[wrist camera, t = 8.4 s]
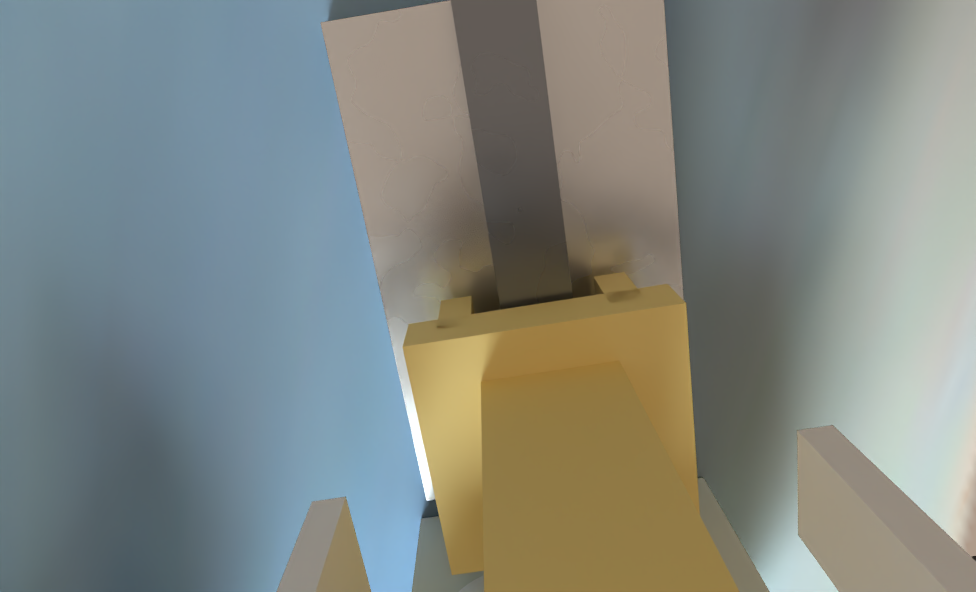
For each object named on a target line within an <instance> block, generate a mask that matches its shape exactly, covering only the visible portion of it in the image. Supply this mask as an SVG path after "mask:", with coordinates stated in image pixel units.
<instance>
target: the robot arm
mask: <svg viewBox="0 0 976 592" xmlns="http://www.w3.org/2000/svg"><path fill="white" fill-rule="evenodd" d="M797 459H798V535H799V537H800V538H801V539H802V541H803V542H804V544H805V545H806V546H807V548H808V549H809V551H810V552H811V553H812V555H813V556H814V557H815V559H816V560H817V562H818V563H819V564H820V566H821V567H822V569H823V570H824V571H825V573H826V574H827V576H828V577H829V578H830V580H831V581H832V583H833V584H834V585H835V587H836V588H837V590H838V591H839V592H976V556H973V557H971V556H970V555H969V554H968V553H967V552H966V551H965V550H964V549H962V548H961V547H960V546H959V545H958V544H957V543H956V542H955V541H954V540H953V539H952V538H951V537H950V536H949V535H948V534H947V533H946V532H945V531H944V530H943V529H941V528H940V527H939V526H938V525H937V524H936V523H935V522H934V521H933V520H932V519H931V518H930V517H929V516H928V515H927V514H926V513H925V512H924V511H923V510H921V509H920V508H919V507H918V506H917V505H916V504H915V503H914V502H913V501H912V500H911V499H910V498H909V497H908V496H907V495H906V494H905V493H904V492H903V491H902V490H900V489H899V488H898V487H897V486H896V485H895V484H894V483H893V482H892V481H891V480H890V479H889V478H888V477H887V476H886V475H885V474H884V473H883V472H882V471H880V470H879V469H878V468H877V467H876V466H875V465H874V464H873V463H872V462H871V461H870V460H869V459H868V458H867V457H866V456H865V455H864V454H863V453H862V452H861V451H859V450H858V449H857V448H856V447H855V446H854V445H853V444H852V443H851V442H850V441H849V440H848V439H847V438H846V437H845V436H844V435H843V434H842V433H841V432H839V431H838V430H837V429H836V428H835V427H834V426H833V425H830V426H823V427H816V428H809V429H803V430H797ZM277 592H371V589H370V585H369V582H368V578H367V574H366V570H365V567H364V563H363V559H362V556H361V552H360V548H359V544H358V541H357V537H356V533H355V529H354V526H353V522H352V518H351V515H350V511H349V507H348V503H347V500H346V497H340V498H334V499H327V500H320V501H313V502H312V503H311V505H310V508H309V511H308V513H307V516H306V518H305V521H304V523H303V526H302V528H301V531H300V533H299V536H298V538H297V541H296V544H295V546H294V549H293V551H292V554H291V556H290V559H289V561H288V564H287V566H286V569H285V571H284V574H283V576H282V579H281V582H280V584H279V587H278V589H277Z"/></svg>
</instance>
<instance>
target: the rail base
mask: <svg viewBox="0 0 976 592" xmlns="http://www.w3.org/2000/svg"><path fill="white" fill-rule="evenodd" d="M321 27H322V31H323V36H324V40H325V45H326V49H327V54H328V58H329V63H330V67H331V72H332V76H333V81H334V85H335V90H336V94H337V99H338V103H339V108H340V112H341V117H342V121H343V126H344V130H345V135H346V139H347V144H348V148H349V153H350V157H351V162H352V166H353V171H354V175H355V180H356V184H357V189H358V193H359V198H360V202H361V207H362V211H363V216H364V220H365V225H366V229H367V234H368V239H369V243H370V248H371V252H372V257H373V261H374V266H375V270H376V275H377V279H378V284H379V288H380V293H381V297H382V302H383V306H384V311H385V315H386V320H387V324H388V329H389V333H390V338H391V342H392V347H393V351H394V356H395V360H396V365H397V369H398V374H399V378H400V383H401V387H402V392H403V396H404V401H405V405H406V410H407V414H408V419H409V423H410V428H411V432H412V437H413V441H414V446H415V450H416V455H417V459H418V464H419V468H420V473H421V477H422V482H423V486H424V491H425V495H426V500H427V501H429V500H435V495H434V490H433V486H432V481H431V477H430V472H429V467H428V463H427V458H426V454H425V449H424V444H423V440H422V435H421V430H420V426H419V421H418V417H417V412H416V407H415V403H414V398H413V394H412V389H411V384H410V380H409V375H408V371H407V366H406V361H405V357H404V352H403V347H402V346H403V343H404V339H405V336H406V332H407V329H408V325H409V324H412V323H418V322H424V321H431V320H437V319H438V317H439V310H440V304H441V300H447V299H454V298H460V297H467V296H472V302H473V308H474V313H475V314H476V313H482V312H489V311H495V310H502V309H508V308H515V307H521V306H527V305H534V304H540V303H547V302H553V301H560V300H566V299H572V298H579V297H585V296H592V295H596V294H595V285H594V277H595V276H601V275H607V274H614V273H620V272H625V273H626V275H627V276H628V277H629V278H630V280H631V281H632V282H633V283H634V285H635V286H636V287H637V288H643V287H650V286H656V285H662V284H668V285H669V286H670V287H671V288H672V289H673V290H674V291H675V292H676V293H677V294H678V295H679V296H680V297H681V298H682V299H683V300H684V297H683V282H682V266H681V251H680V236H679V221H678V206H677V191H676V176H675V161H674V145H673V130H672V115H671V100H670V85H669V70H668V55H667V40H666V24H665V9H664V0H449V1H443V2H437V3H432V4H426V5H420V6H414V7H408V8H402V9H397V10H391V11H385V12H379V13H373V14H367V15H362V16H356V17H350V18H344V19H338V20H332V21H327V22H321Z"/></svg>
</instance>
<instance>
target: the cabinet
mask: <svg viewBox="0 0 976 592" xmlns="http://www.w3.org/2000/svg"><path fill="white" fill-rule="evenodd" d="M698 493H699V509H700V517H701V519H702V521H703V522H704V524H705V526H706V528H707V530H708V532H709V534H710V536H711V538H712V540H713V542H714V544H715V545H716V547H717V549H718V551H719V553H720V555H721V557H722V559H723V561H724V563H725V565H726V567H727V569H728V570H729V572H730V574H731V576H732V578H733V580H734V582H735V584H736V586H737V588H738V590H739V592H769V590H768V588H767V586H766V585H765V583H764V581H763V580H762V578H761V576H760V574H759V573H758V571H757V569H756V567H755V566H754V564H753V562H752V561H751V559H750V557H749V555H748V554H747V552H746V550H745V549H744V547H743V545H742V543H741V542H740V540H739V538H738V536H737V535H736V533H735V531H734V530H733V528H732V526H731V524H730V523H729V521H728V519H727V518H726V516H725V514H724V512H723V511H722V509H721V507H720V505H719V504H718V502H717V500H716V499H715V497H714V495H713V493H712V492H711V490H710V488H709V487H708V485H707V483H706V481H705V480H704V478H698ZM412 592H484V571H478V572H471V573H464V574H457V575H452V573H451V569H450V564H449V560H448V555H447V550H446V546H445V541H444V537H443V532H442V527H441V523H440V518H439V516H436V517H429V518H422V519H421V523H420V531H419V539H418V547H417V555H416V563H415V570H414V578H413V586H412Z"/></svg>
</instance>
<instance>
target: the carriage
mask: <svg viewBox="0 0 976 592" xmlns="http://www.w3.org/2000/svg"><path fill="white" fill-rule="evenodd" d="M594 285H595V294H596V295H592V296H585V297H579V298H572V299H566V300H560V301H553V302H547V303H540V304H534V305H527V306H521V307H515V308H508V309H502V310H495V311H489V312H482V313H476V314H475V313H474V308H473V302H472V296H467V297H460V298H454V299H447V300H441V304H440V310H439V317H438V319H437V320H431V321H424V322H418V323H412V324H409V325H408V329H407V332H406V336H405V339H404V343H403V346H402V347H403V352H404V357H405V361H406V366H407V371H408V375H409V380H410V384H411V389H412V394H413V398H414V403H415V407H416V412H417V417H418V421H419V426H420V430H421V435H422V440H423V444H424V449H425V454H426V458H427V463H428V467H429V472H430V477H431V481H432V486H433V490H434V495H435V500H436V504H437V509H438V513H439V518H440V523H441V527H442V532H443V537H444V541H445V546H446V550H447V555H448V560H449V564H450V569H451V573H452V575H457V574H464V573H471V572H478V571H484V592H739V590H738V588H737V586H736V584H735V582H734V580H733V578H732V576H731V574H730V572H729V570H728V569H727V567H726V565H725V563H724V561H723V559H722V557H721V555H720V553H719V551H718V549H717V547H716V545H715V544H714V542H713V540H712V538H711V536H710V534H709V532H708V530H707V528H706V526H705V524H704V522H703V521H702V519H701V517H700V509H699V493H698V478H697V463H696V447H695V432H694V416H693V401H692V386H691V370H690V355H689V339H688V324H687V309H686V302H685V301H684V300H683V299H682V298H681V297H680V296H679V295H678V294H677V293H676V292H675V291H674V290H673V289H672V288H671V287H670V286H669V285H668V284H662V285H656V286H650V287H643V288H637V287H636V286H635V285H634V283H633V282H632V281H631V280H630V278H629V277H628V276H627V275H626V273H625V272H620V273H614V274H607V275H601V276H595V277H594Z"/></svg>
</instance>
